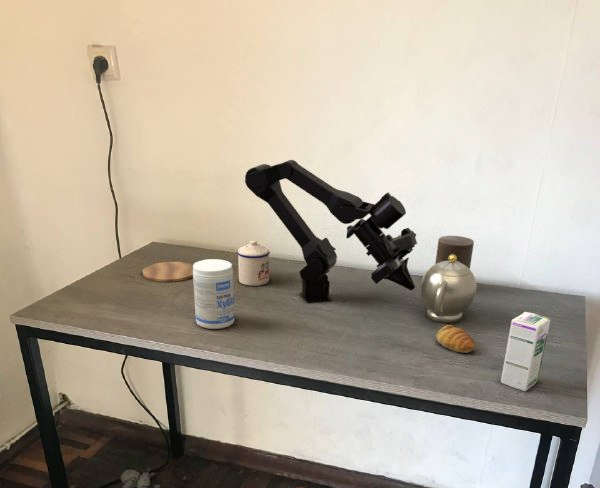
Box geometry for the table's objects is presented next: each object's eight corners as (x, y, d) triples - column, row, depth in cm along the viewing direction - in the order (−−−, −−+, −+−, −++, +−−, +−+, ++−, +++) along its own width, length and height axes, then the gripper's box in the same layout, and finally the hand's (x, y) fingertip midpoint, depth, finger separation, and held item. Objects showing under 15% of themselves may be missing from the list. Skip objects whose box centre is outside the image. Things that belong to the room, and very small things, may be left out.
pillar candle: (445, 295, 176) (452, 241, 168) (425, 284, 184) (432, 232, 176) (474, 291, 179) (482, 238, 172) (453, 280, 187) (461, 229, 180)
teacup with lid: (263, 288, 178) (263, 247, 172) (233, 284, 180) (232, 243, 175) (277, 274, 188) (277, 235, 182) (248, 271, 190) (247, 232, 185)
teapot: (425, 303, 171) (433, 242, 162) (476, 312, 166) (487, 250, 158) (406, 327, 157) (413, 262, 148) (461, 337, 152) (471, 271, 143)
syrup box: (525, 392, 129) (540, 326, 122) (498, 382, 132) (511, 318, 125) (537, 382, 133) (552, 318, 125) (511, 373, 136) (524, 310, 129)
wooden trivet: (145, 284, 179) (145, 281, 179) (140, 266, 193) (140, 263, 192) (201, 279, 184) (201, 276, 183) (193, 262, 197) (193, 259, 196)
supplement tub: (225, 332, 152) (222, 273, 144) (189, 327, 154) (184, 268, 147) (240, 318, 160) (239, 260, 152) (206, 313, 162) (202, 256, 155)
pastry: (481, 351, 146) (484, 335, 144) (459, 357, 142) (462, 342, 141) (453, 336, 152) (455, 321, 150) (431, 342, 149) (433, 327, 147)
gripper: (388, 229, 146) (430, 282, 148) (408, 211, 161) (446, 259, 163) (353, 258, 153) (394, 308, 155) (376, 238, 168) (413, 284, 170)
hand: (413, 289), depth 161 cm, fingers closed
